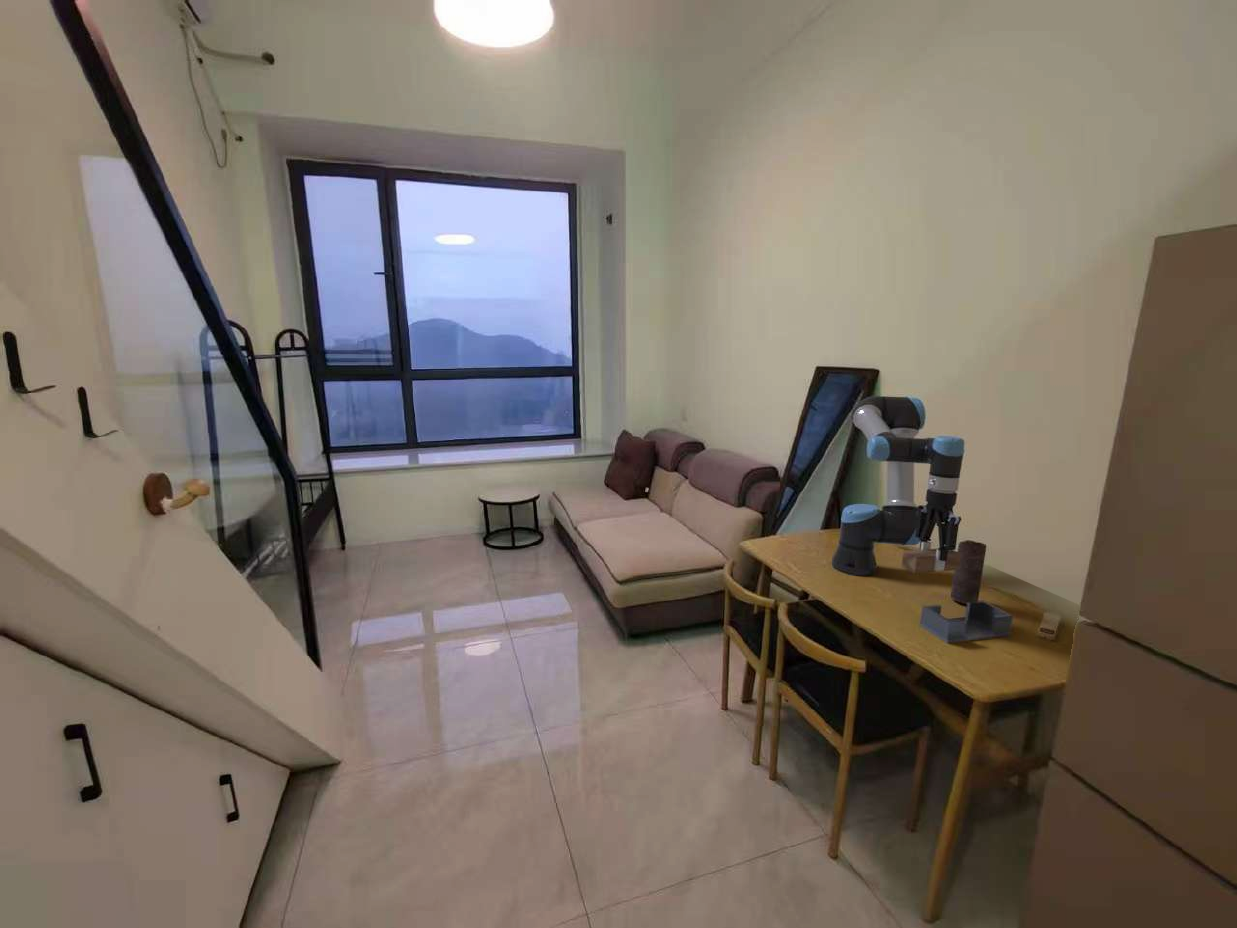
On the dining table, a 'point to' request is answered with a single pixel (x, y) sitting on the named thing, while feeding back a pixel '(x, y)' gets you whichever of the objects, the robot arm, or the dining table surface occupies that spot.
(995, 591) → the dining table surface
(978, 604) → the bracket plate
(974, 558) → the candle
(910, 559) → the rail bar
